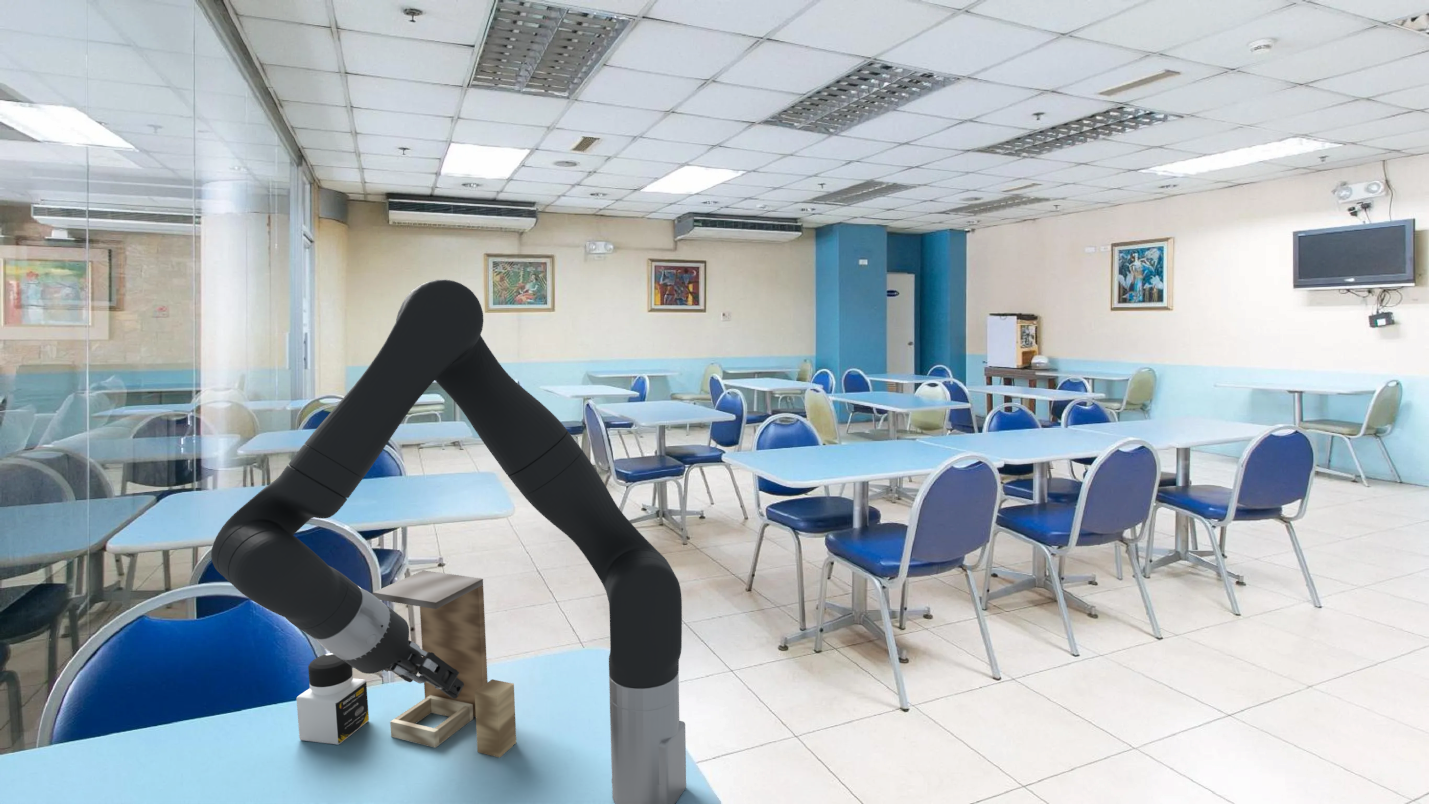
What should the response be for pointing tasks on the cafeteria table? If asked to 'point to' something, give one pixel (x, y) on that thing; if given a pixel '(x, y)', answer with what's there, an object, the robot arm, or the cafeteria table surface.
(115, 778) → the cafeteria table surface
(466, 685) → the awning socket
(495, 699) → the peg
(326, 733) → the medicine bottle
